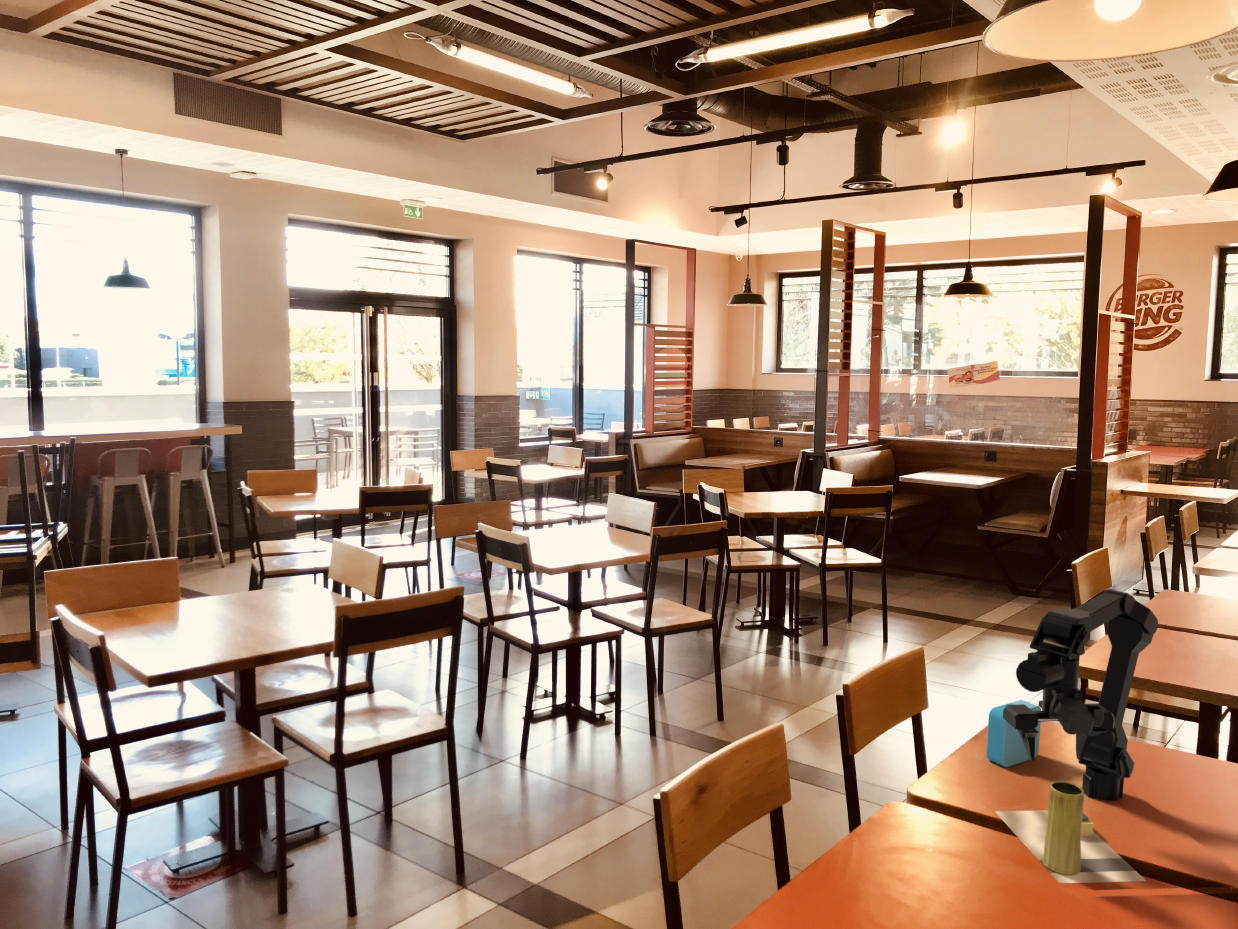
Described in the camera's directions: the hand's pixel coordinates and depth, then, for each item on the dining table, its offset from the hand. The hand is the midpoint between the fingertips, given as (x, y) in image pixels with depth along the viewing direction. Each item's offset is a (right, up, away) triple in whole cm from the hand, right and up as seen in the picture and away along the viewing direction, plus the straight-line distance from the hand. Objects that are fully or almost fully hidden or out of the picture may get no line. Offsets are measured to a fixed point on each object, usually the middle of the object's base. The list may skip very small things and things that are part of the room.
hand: (1055, 760), depth 174 cm
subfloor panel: (-1, -14, -6) cm, 15 cm away
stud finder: (+3, -12, 0) cm, 13 cm away
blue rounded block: (+5, -10, +30) cm, 32 cm away
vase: (-5, -14, -13) cm, 20 cm away
